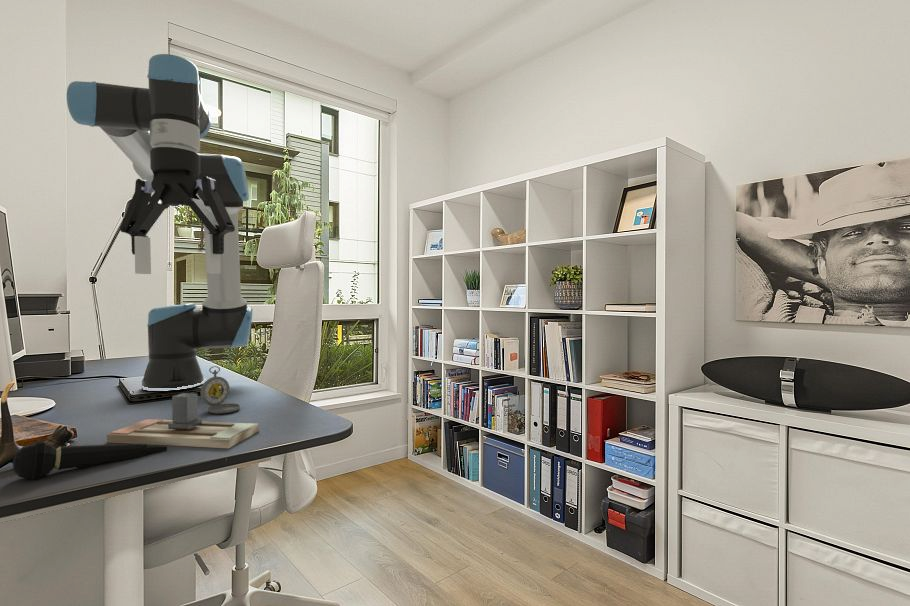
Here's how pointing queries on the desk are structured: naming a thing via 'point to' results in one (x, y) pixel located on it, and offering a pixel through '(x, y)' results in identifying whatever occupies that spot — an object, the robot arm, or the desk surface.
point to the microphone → (73, 456)
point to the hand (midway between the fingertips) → (178, 274)
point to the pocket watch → (217, 394)
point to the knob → (184, 412)
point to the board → (184, 434)
